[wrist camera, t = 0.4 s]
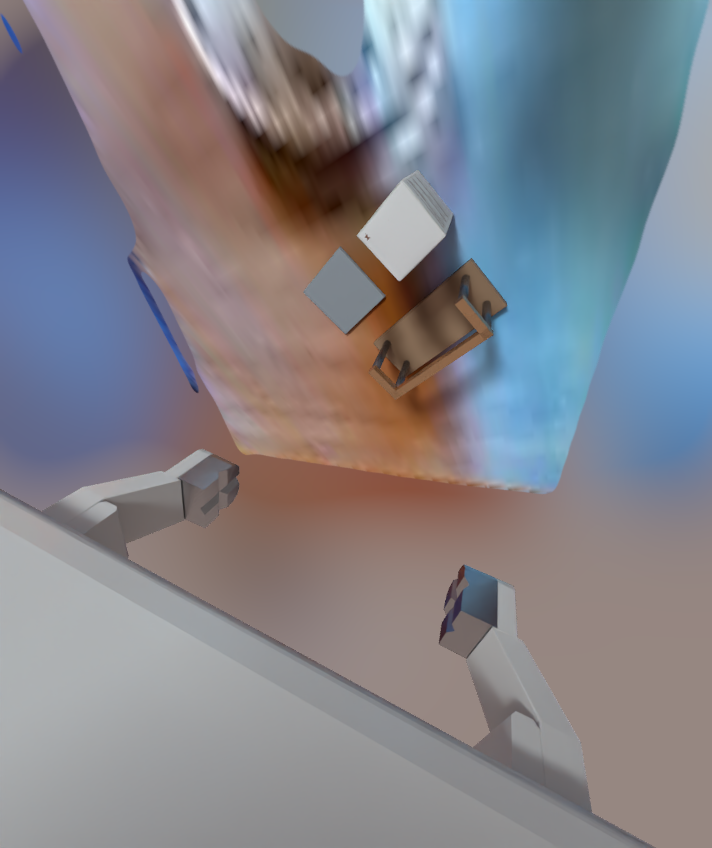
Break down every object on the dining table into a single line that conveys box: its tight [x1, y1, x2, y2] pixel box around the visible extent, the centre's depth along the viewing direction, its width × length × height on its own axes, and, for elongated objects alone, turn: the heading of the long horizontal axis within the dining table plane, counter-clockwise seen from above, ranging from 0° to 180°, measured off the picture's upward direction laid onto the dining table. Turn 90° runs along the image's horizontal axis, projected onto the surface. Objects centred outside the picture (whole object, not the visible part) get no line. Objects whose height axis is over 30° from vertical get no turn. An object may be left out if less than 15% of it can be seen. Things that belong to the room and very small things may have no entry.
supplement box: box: [357, 170, 453, 281], centre depth 42 cm, size 7×7×13 cm
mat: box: [304, 246, 385, 334], centre depth 57 cm, size 10×10×1 cm
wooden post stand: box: [368, 274, 493, 400], centre depth 51 cm, size 17×6×10 cm, turn 137°
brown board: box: [374, 258, 507, 376], centre depth 55 cm, size 20×8×1 cm, turn 137°
